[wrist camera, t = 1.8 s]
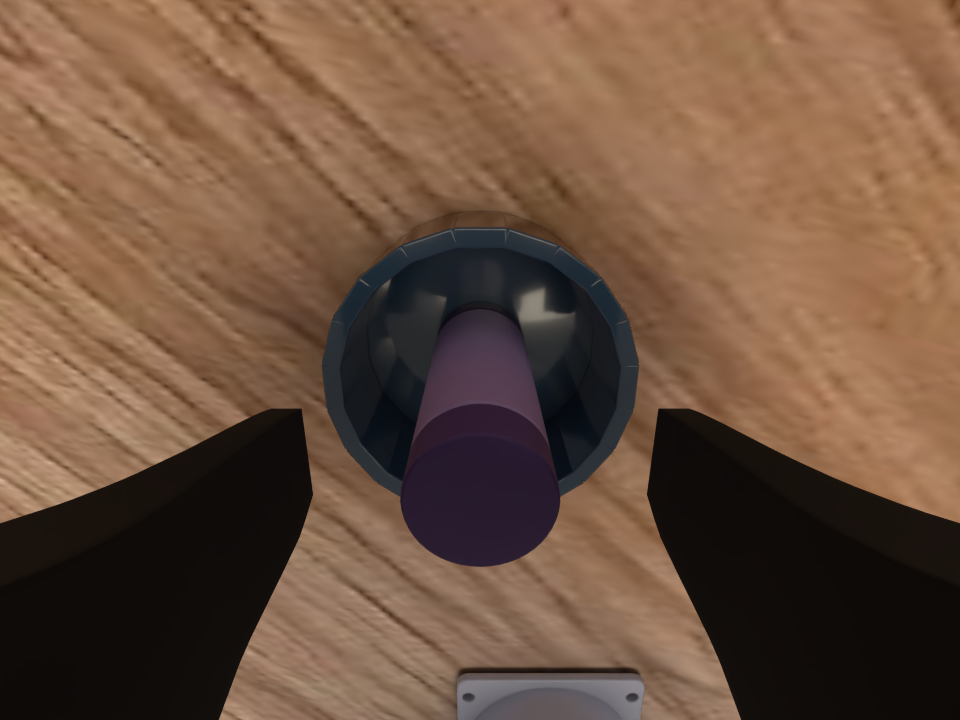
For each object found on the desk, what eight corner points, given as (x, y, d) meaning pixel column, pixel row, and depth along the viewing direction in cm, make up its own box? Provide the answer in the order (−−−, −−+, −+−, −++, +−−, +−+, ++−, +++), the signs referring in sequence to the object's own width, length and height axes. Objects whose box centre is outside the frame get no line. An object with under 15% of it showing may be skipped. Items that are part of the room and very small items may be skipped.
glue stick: (522, 383, 18) (556, 568, 10) (438, 383, 18) (403, 568, 10) (525, 301, 17) (565, 433, 9) (435, 301, 17) (394, 433, 9)
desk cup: (594, 446, 19) (622, 517, 15) (365, 446, 19) (338, 517, 15) (615, 210, 16) (655, 227, 12) (345, 210, 16) (305, 227, 12)
